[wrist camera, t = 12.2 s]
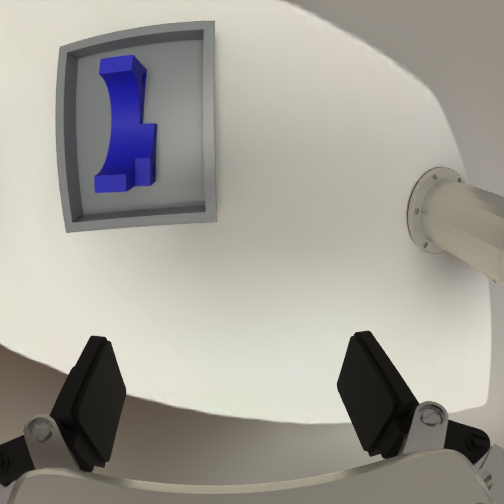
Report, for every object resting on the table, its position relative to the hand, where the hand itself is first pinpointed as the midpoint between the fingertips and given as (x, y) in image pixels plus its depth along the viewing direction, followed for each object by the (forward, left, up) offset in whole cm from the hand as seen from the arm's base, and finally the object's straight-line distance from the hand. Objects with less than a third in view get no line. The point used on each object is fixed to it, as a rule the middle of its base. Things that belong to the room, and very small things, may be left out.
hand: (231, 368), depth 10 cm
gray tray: (+8, -10, -23) cm, 26 cm away
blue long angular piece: (+8, -10, -22) cm, 26 cm away
